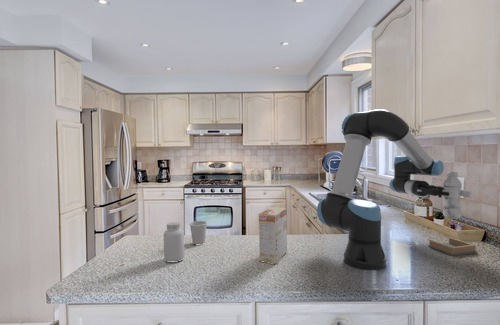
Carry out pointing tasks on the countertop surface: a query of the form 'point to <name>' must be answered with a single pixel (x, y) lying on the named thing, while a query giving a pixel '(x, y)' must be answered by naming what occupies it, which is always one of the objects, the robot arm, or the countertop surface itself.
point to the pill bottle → (173, 242)
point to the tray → (454, 247)
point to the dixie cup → (198, 231)
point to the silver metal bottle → (452, 204)
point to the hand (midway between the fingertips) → (464, 194)
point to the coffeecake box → (272, 234)
